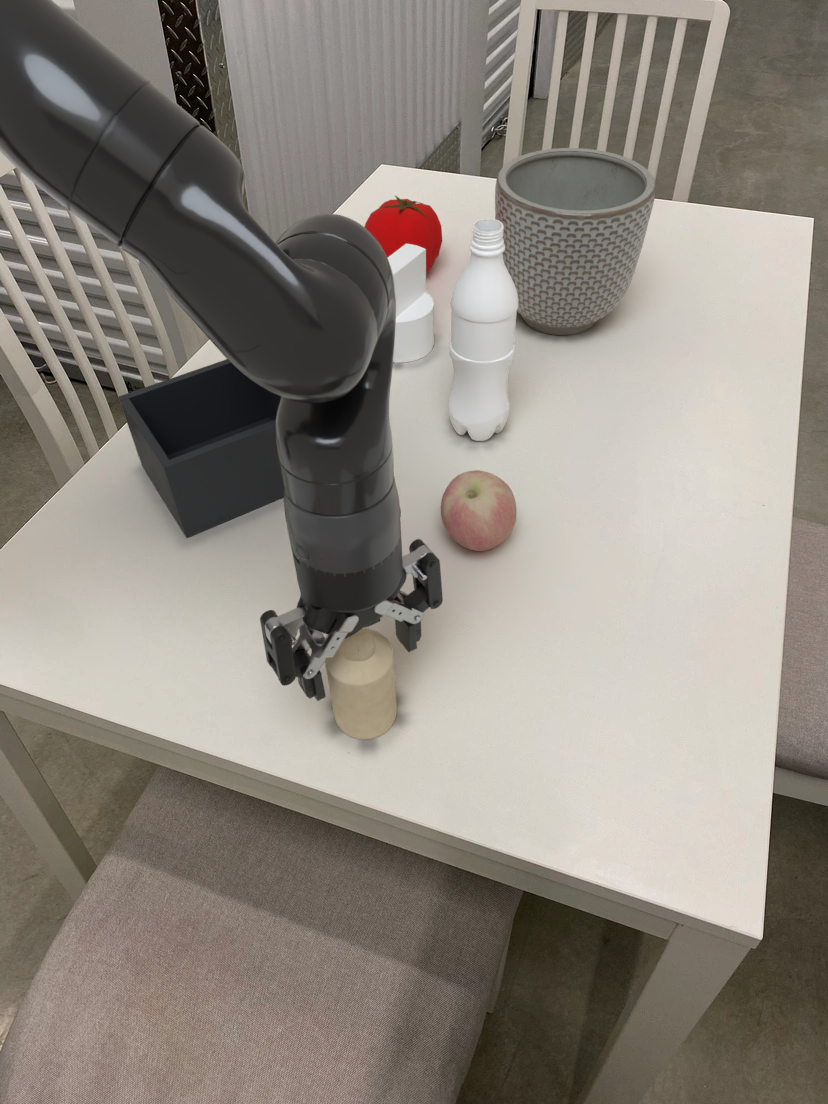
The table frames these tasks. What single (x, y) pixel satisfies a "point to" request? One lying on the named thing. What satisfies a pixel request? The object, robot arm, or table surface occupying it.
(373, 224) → the tomato
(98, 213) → the robot arm
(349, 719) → the candle
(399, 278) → the base with upright slab
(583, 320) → the planter
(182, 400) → the dark grey open box
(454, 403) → the water bottle
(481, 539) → the apple
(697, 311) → the table surface
